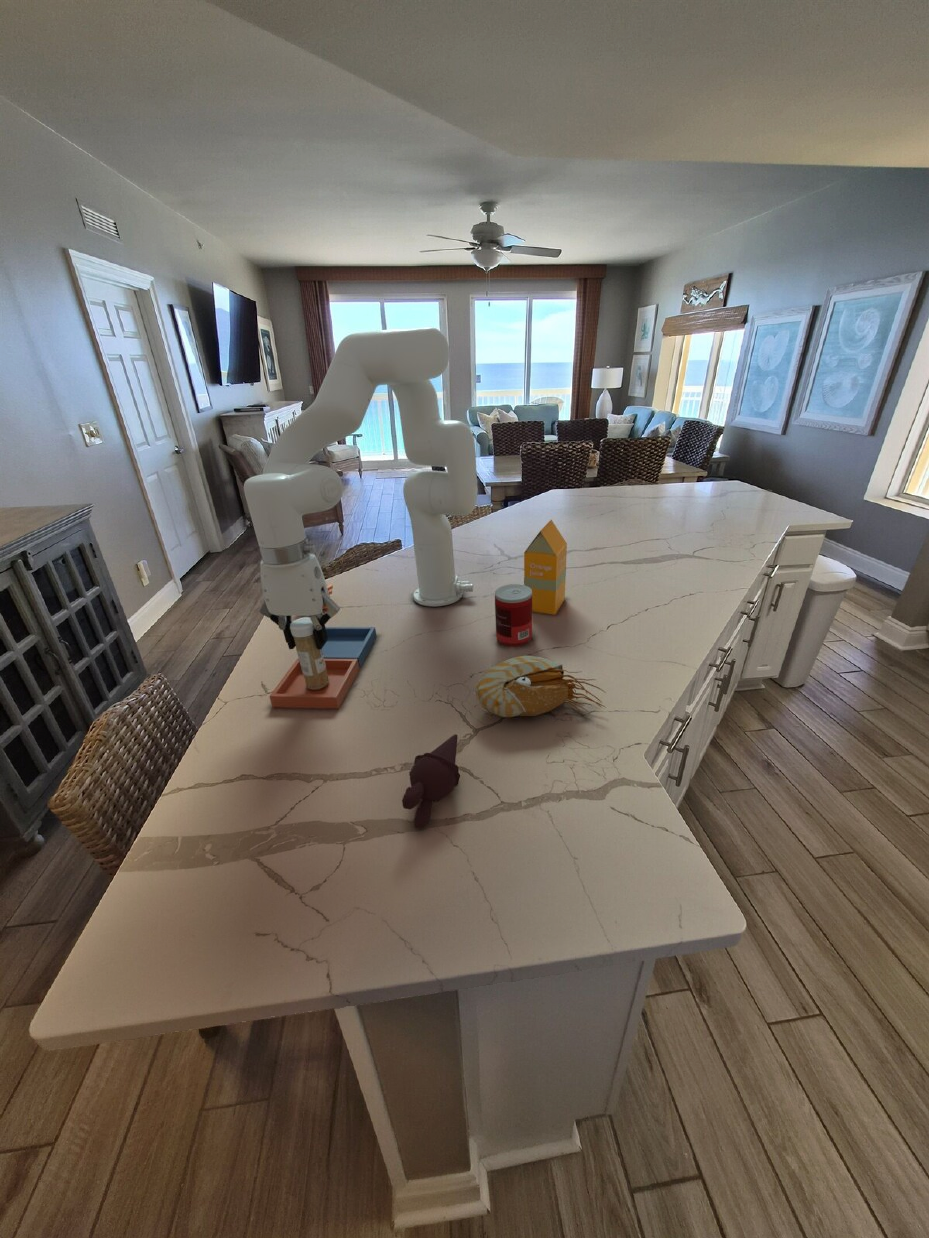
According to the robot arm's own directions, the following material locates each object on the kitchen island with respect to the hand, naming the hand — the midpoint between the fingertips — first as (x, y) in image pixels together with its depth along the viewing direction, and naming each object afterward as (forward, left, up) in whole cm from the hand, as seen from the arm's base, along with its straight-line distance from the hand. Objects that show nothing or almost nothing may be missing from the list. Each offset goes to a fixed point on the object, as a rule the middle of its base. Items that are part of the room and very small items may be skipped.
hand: (308, 644), depth 90 cm
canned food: (-37, -19, -10) cm, 43 cm away
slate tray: (0, -13, -10) cm, 16 cm away
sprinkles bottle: (0, 0, -9) cm, 9 cm away
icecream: (-27, +24, -10) cm, 37 cm away
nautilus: (-42, +5, -10) cm, 43 cm away
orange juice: (-44, -35, -10) cm, 57 cm away
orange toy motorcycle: (+13, -34, -10) cm, 38 cm away
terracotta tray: (0, 0, -10) cm, 10 cm away
